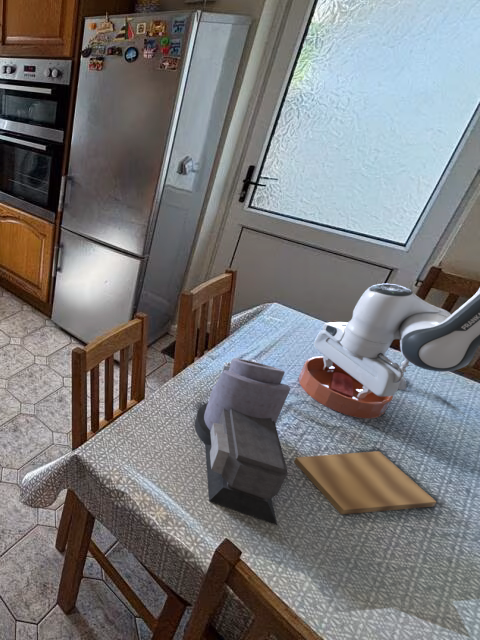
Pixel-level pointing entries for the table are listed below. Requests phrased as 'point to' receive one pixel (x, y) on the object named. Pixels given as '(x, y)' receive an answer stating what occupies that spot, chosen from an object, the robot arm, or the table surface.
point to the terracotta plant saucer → (319, 389)
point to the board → (363, 482)
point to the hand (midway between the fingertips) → (342, 383)
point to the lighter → (227, 365)
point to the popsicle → (342, 384)
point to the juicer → (244, 438)
